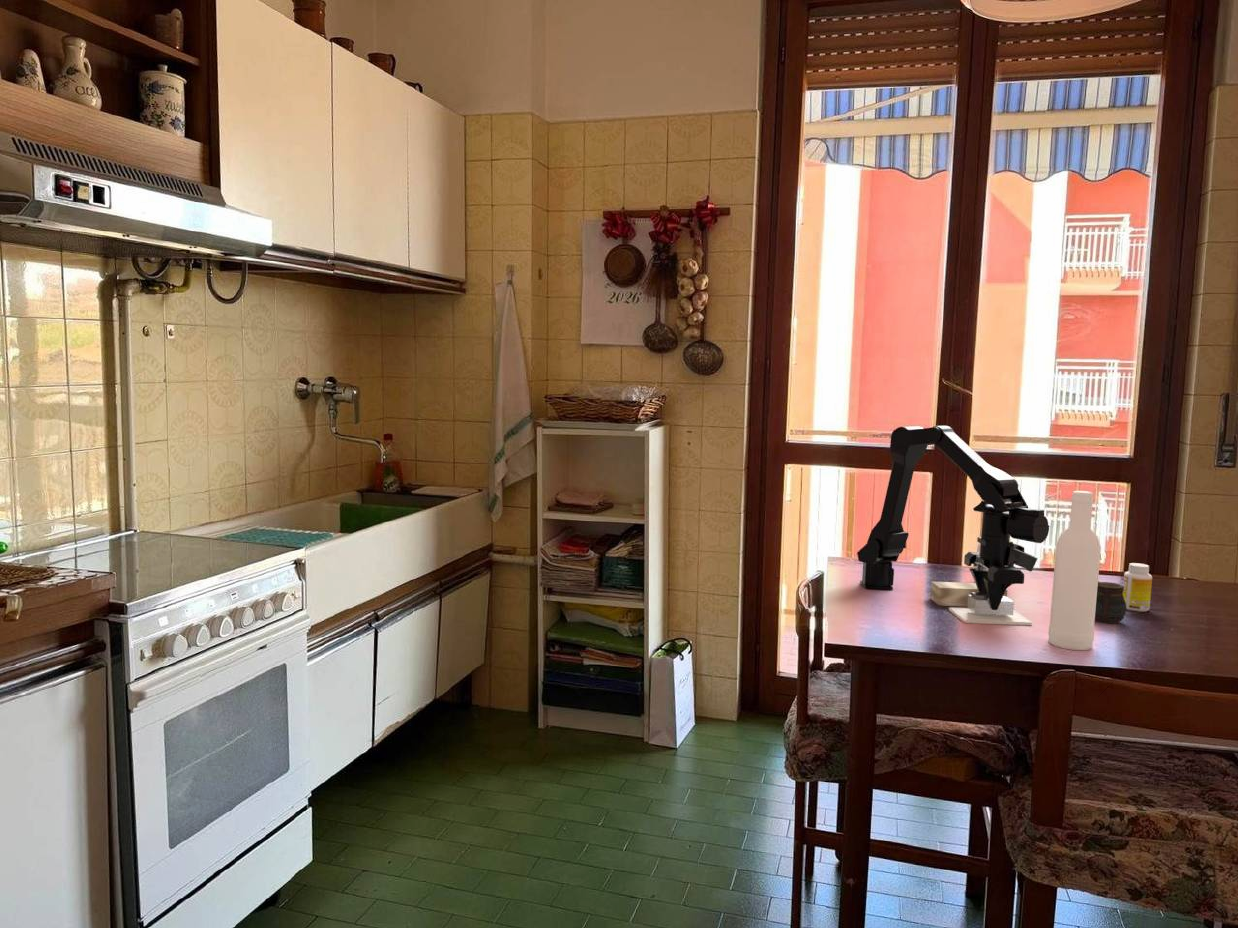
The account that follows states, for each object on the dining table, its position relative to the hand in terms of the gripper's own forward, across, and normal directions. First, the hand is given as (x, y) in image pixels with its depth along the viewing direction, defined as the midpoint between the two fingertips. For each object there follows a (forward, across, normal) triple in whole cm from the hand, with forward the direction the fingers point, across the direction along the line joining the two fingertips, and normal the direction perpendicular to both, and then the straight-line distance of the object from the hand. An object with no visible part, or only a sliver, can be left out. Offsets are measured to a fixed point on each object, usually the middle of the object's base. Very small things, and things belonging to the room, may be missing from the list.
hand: (990, 606), depth 198 cm
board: (+2, 0, 0) cm, 2 cm away
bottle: (+2, -18, -9) cm, 20 cm away
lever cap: (+1, 0, 0) cm, 1 cm away
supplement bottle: (+3, +12, -37) cm, 39 cm away
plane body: (+2, +12, 0) cm, 12 cm away
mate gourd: (+3, +1, -25) cm, 25 cm away
